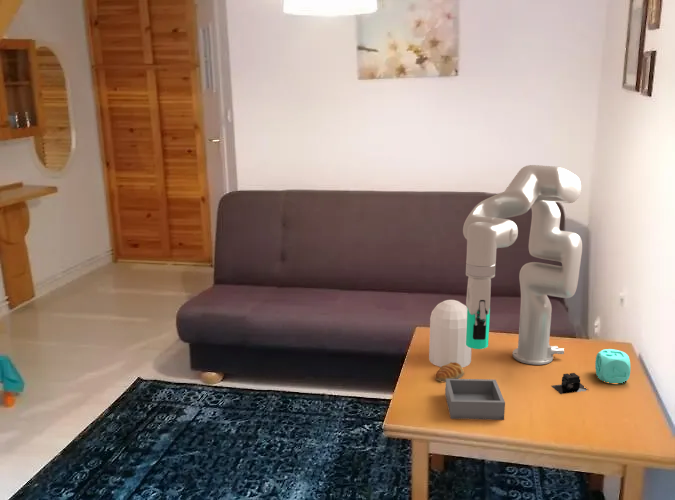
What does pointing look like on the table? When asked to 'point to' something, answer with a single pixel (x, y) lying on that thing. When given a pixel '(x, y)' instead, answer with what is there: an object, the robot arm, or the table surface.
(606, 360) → the decorative dice
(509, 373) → the table surface
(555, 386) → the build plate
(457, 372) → the pastry
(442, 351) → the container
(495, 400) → the bin
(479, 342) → the candle
